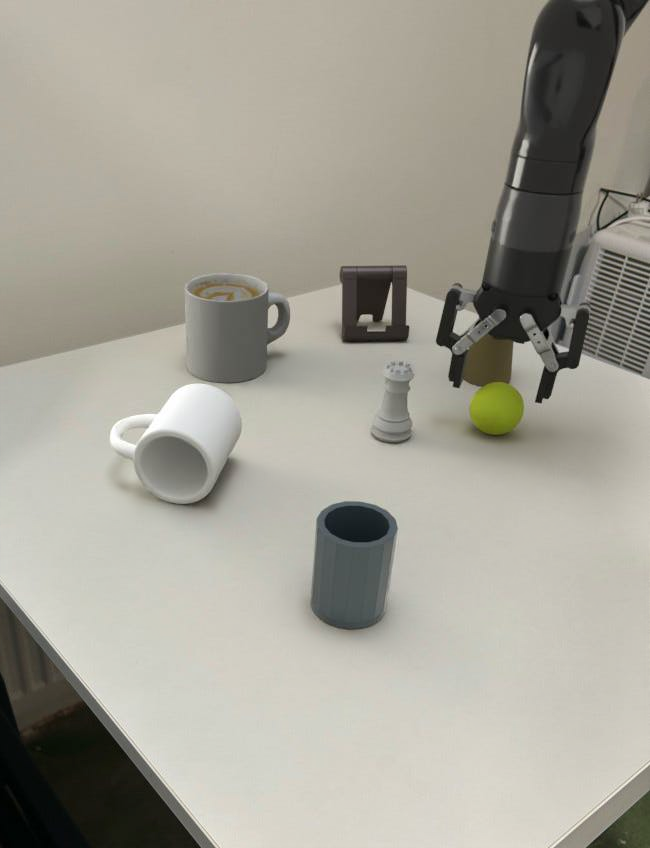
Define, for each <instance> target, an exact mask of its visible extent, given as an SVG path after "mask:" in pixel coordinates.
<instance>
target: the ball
mask: <svg viewBox="0 0 650 848" xmlns="http://www.w3.org/2000/svg"><path fill="white" fill-rule="evenodd" d="M524 411H525V401H524V399H523V396H522V394H521V392H519V391H518V389H517V388H516V387H515V386H513V385H511V384H510V383H508V384H507V383H503V382H493V383H489V384H487V385H485V386H481V387H480V388H479V389H478V390H476V392H475V393H474V395H473V396H472V398H471V400H470V403H469V417H470V419H471V422H472V423H473V425H474V426H475V427H476V428H477V429H478V430H480V431H481V432H483V433H485V434H487V435H492V436H500V435H504V434H507V433H509V432H511V431H512V430H514V429H515V428H516V427H517V426H518V425H519V424H520V422H521V421H522V419H523V416H524Z"/></svg>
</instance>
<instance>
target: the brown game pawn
mask: <svg viewBox="0 0 650 848" xmlns="http://www.w3.org/2000/svg"><path fill="white" fill-rule="evenodd" d="M479 318H480V317H479V316H478V318H477V319H479ZM514 343H515V342H514V341H511V340H509V339H506V340H498V339H493V336H491V335H489V334H488V333H487V334H486V335H484V336H483V337H482V338H481V339H480V340H479V341H477V342H476V343H474V344H473V345H471V346H470V347H469V348H468V349H469V351H468V356H467V361H466V366H465V371H464V376H463V381H466V382H467V383H469V384H471V385H475V386H479V387H483V386H485V385H487V384H489V383H493V382H503V383H507V384H510V382H511V381H512V368H513V355H514Z"/></svg>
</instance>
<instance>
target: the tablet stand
mask: <svg viewBox="0 0 650 848" xmlns="http://www.w3.org/2000/svg"><path fill="white" fill-rule="evenodd" d="M339 281H340V284H341V339H342V341H343V342H356V341H361V342H362V341H407V340H408V339H409V335H410V325H408V324H407V302H408V301H407V298H408V297H407V296H408V295H407V294H408V267H407V265H405V264H404V265H396V264H395V265H341V266H340V268H339ZM390 289H391V320H390V321H391V322H390V324H391V325H386V326H385V330H376V331H372V330H371V331H368V329H369V327H368V325H357V324H358V323H357V322H359V321H360V319H361V317H362V316H365V315H366V316H367V315H371V317H372V318H371V319H372V322H382V320H383V319H384V316H385V315H384V314H385V310H386V306H387V302H388V298H389V294H390V293H389V292H390Z"/></svg>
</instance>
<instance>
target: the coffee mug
mask: <svg viewBox="0 0 650 848" xmlns="http://www.w3.org/2000/svg"><path fill="white" fill-rule="evenodd" d="M273 305H275V306H276V309H277V320H276V322H275V324H274V325H273V326H272V327H269V325H268V324H269V323H268V322H269V309H270V308H271V306H273ZM184 312H185V315H184V316H185V341H186V342H185V343H186V344H185V345H186V347H185V348H186V368H187V370H188V371H189V373H190V374H192V375H193V376H195V377H196V378H198V379H201V380H204V381H207V382H212V383H221V384H232V383H241V382H247V381H250V380H253V379H255V378H258V377H260V376H261V375H262V374H264V373H265V371H266V370H267V360H268V354H267V353H268V345H270V344H271V343H273V342H275V341H277V340H278V339H280V338H281V337H283V335H285V333H286V332H287V330H288V328H289V325H290V322H291V307H290V302H289V300H288V299H287V298H286V297H285V296H284V295H282V294H281V293H279V292H269V285H268V283H267V282H266V281H264V280H263V279H261V278H258V277H256V276H253V275H249V274H244V273H235V272H234V273H233V272H219V273H218V272H217V273H209V274H203V275H199V276H196V277H194V278H191V279H190V280H189V281H187V282H186V283H185V285H184Z"/></svg>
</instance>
